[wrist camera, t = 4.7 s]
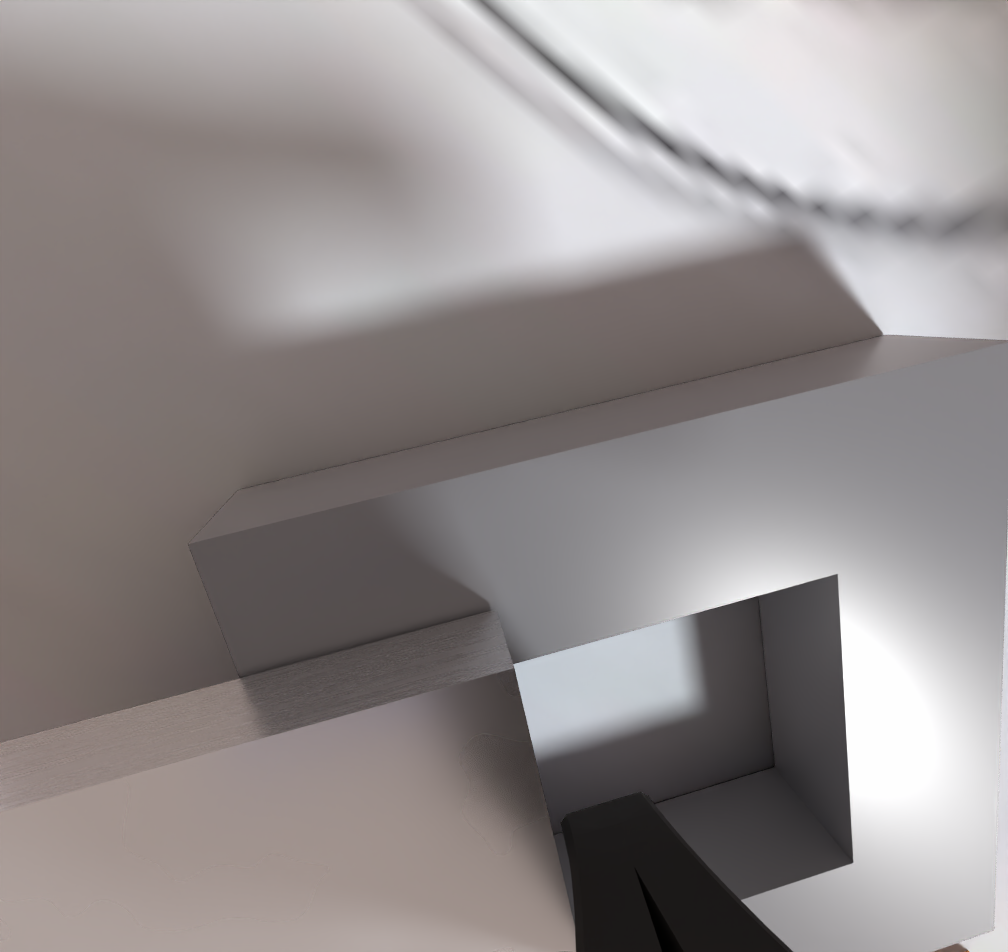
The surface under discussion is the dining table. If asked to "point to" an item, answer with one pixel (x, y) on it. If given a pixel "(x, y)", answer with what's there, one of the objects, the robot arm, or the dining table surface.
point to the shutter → (293, 813)
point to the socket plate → (715, 601)
